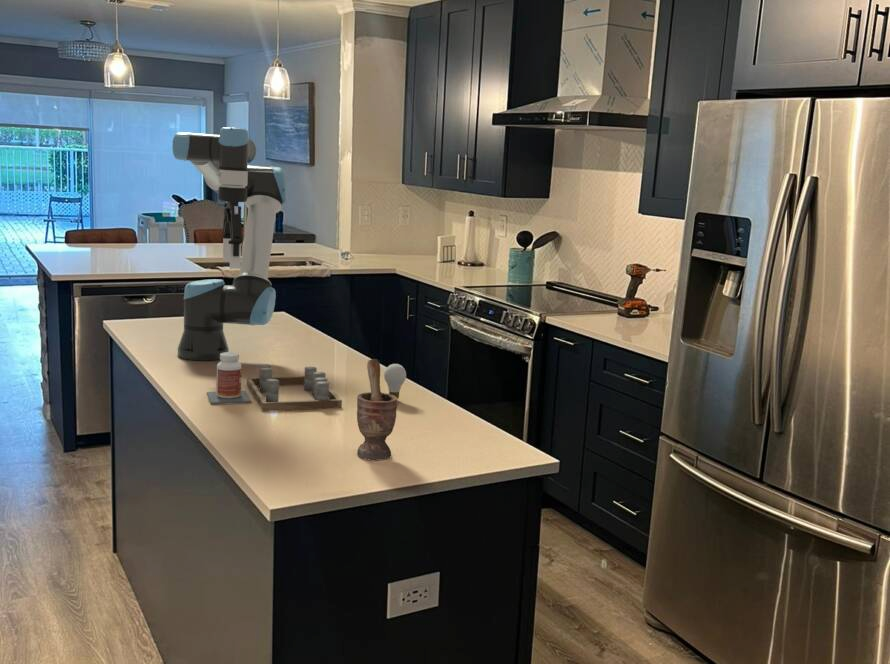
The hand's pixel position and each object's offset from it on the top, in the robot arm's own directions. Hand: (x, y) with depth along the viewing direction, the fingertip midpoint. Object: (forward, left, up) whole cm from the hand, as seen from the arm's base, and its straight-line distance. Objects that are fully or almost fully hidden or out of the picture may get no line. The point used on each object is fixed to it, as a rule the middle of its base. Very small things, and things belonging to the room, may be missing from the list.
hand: (231, 265), depth 239 cm
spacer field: (+21, +14, -32) cm, 40 cm away
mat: (+21, -3, -32) cm, 38 cm away
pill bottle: (+21, -3, -31) cm, 38 cm away
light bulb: (+29, +39, -32) cm, 58 cm away
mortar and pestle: (+68, +21, -32) cm, 78 cm away
